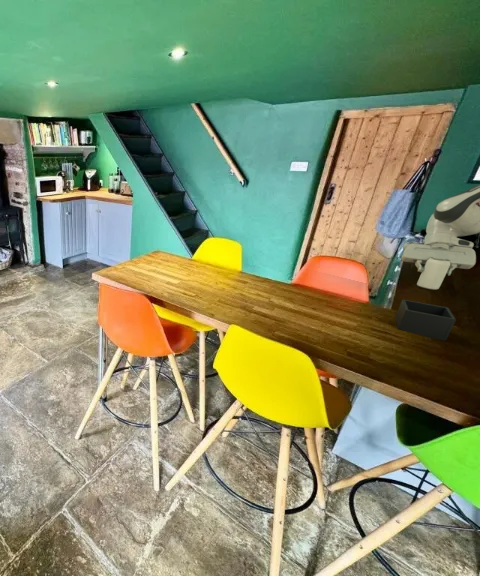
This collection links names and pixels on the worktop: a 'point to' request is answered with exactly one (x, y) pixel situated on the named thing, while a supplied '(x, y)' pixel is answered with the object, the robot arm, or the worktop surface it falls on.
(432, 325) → the bin
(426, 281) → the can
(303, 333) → the worktop surface
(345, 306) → the worktop surface
